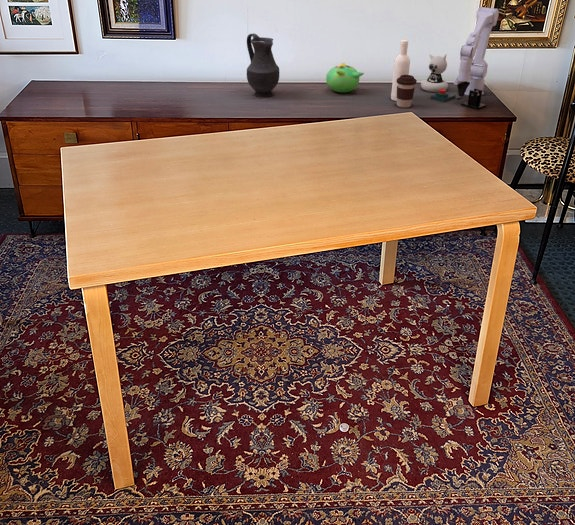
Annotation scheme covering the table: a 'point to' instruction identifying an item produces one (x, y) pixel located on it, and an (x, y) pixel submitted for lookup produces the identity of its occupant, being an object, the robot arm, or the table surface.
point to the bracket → (474, 100)
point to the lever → (465, 96)
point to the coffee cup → (405, 90)
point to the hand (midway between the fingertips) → (460, 96)
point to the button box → (442, 96)
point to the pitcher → (261, 66)
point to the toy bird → (343, 78)
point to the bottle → (400, 67)
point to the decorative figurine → (435, 75)
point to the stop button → (442, 91)
